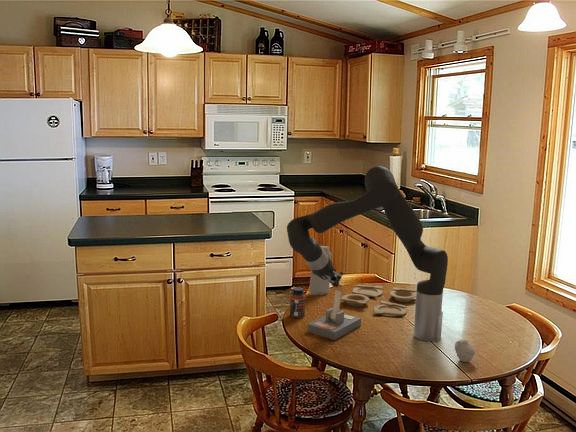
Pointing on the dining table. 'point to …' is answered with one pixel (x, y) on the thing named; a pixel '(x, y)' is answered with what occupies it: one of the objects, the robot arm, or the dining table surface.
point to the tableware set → (386, 307)
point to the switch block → (334, 325)
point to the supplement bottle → (297, 303)
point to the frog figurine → (464, 350)
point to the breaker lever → (337, 300)
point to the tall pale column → (320, 280)
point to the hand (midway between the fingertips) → (336, 284)
